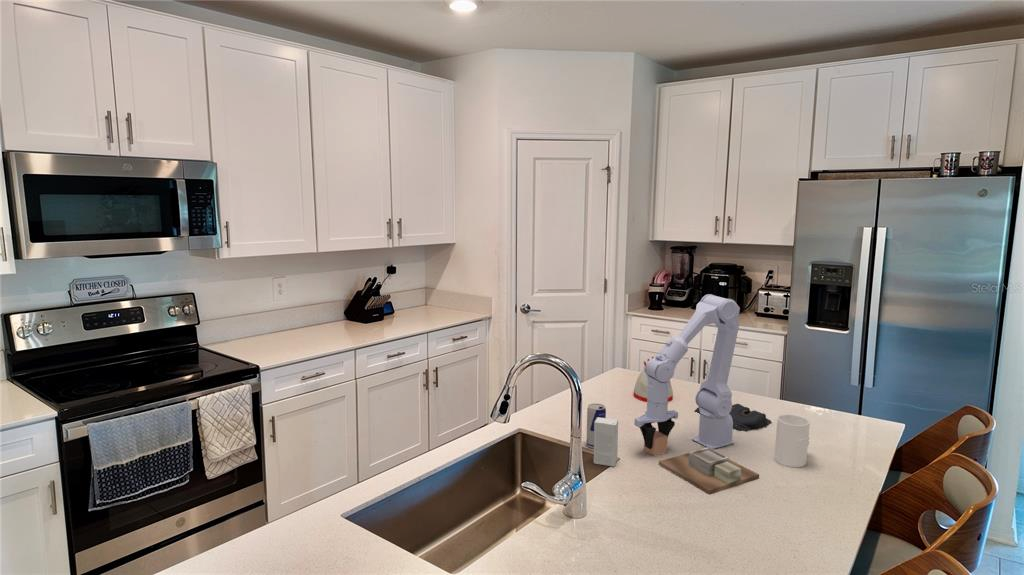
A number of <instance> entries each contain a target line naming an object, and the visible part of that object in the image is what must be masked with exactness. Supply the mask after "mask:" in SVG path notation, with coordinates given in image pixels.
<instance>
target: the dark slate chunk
mask: <svg viewBox="0 0 1024 575" xmlns="http://www.w3.org/2000/svg"><path fill="white" fill-rule="evenodd" d="M694 412H695V413H696V412H697V414H698V413H699V414H698V415H700V411H699V406H698V407H696V409H694ZM729 414H730V415H731V417H732V420H733V430H735V431H737V432H741V431H742V432H746V433H747V432H750V431H753V430H759V429H760V430H761V429H764V428H766V427H767V426H769V425H770V424H772V423H773V422H772V421H771V419H769V418H767V415H766V414H765V413H764V412H760V411H757V410H751V409H750V408H749V407H747V406H744V405H742V404H740V403H735V404H732V409H731V412H730V413H729ZM763 427H764V428H763Z"/></svg>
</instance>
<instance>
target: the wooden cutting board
mask: <svg viewBox="0 0 1024 575" xmlns="http://www.w3.org/2000/svg"><path fill="white" fill-rule="evenodd" d="M729 458H730V457H729V456H727V455H725V454H723V453H721V452H718V451H717V450H715V449H711V448H709V447H704V448H701V449H696V450H693V451H690V452H687V453H684V454H679V455H677V456H676V455H675V456H674V457H670V458H666V459H662V460H659V461H658V465H659V466H660V465H661V466H660V467H662V468H663V467H664V468H663V469H665V468H666V469H665V470H667V471H668V472H670V471H671V472H670V473H672V474H674V475H675V474H676V476H677V475H678V476H677V477H679V478H680V479H682V478H683V479H682V480H684V481H686V482H687V481H688V482H687V483H689V482H690V483H689V484H691V485H692V484H693V485H692V486H694V485H695V486H694V487H696V488H698V489H699V488H700V489H699V490H701V491H703V492H704V491H705V492H704V493H706V494H708V495H711V494H714V493H718V492H721V491H723V490H727V489H729V488H732V487H736V486H739V485H742V484H745V483H748V482H751V481H754V480H758V479H760V474H759V473H758V472H756V471H753V470H751V469H749V468H747V467H745V466H744V465H741V464H740V463H737V462H735V461H733V460H732V459H729ZM720 490H721V491H720Z"/></svg>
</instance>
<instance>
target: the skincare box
mask: <svg viewBox="0 0 1024 575" xmlns="http://www.w3.org/2000/svg"><path fill="white" fill-rule="evenodd" d="M618 436H619V420H618V419H616V418H615V419H614V418H600V417H597V419H596V420H595V422H594V449H593V464H594V465H595V464H596V465H602V466H609V467H616V465H617V462H618V448H619V447H618V442H619V441H618V440H619V437H618Z"/></svg>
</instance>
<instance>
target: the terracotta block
mask: <svg viewBox="0 0 1024 575" xmlns="http://www.w3.org/2000/svg"><path fill="white" fill-rule="evenodd" d="M667 446H668V439H667V436H666V435H664V434H662V433H660V432H658V430H656V431H655V433H654V437H653V446H652V449H649V448H647V447H645V442H644V441H643V450H644V451H645V450H646V451H645V452H647V453H649V454H650V453H651V454H650V455H652V454H653V455H652V456H654V457H656V456H658V454H660V455H663V454H666V453H665V452H668V450H667V449H668V447H667ZM662 453H663V454H662ZM655 455H656V456H655Z"/></svg>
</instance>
